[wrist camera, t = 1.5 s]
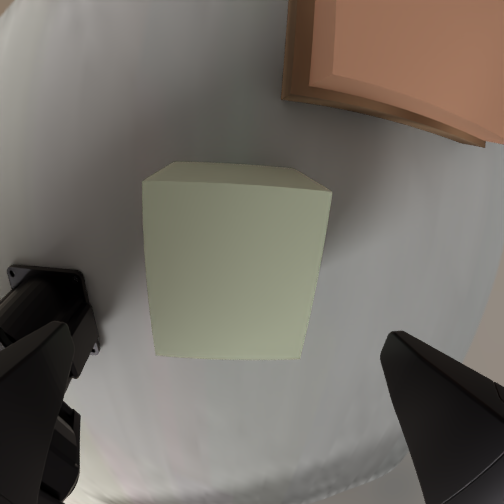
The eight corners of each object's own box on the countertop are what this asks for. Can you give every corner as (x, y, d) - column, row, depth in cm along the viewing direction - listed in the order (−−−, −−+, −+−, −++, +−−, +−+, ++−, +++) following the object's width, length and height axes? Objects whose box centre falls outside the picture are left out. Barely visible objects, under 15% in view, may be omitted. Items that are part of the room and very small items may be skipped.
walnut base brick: (278, 100, 14) (290, 94, 11) (290, -64, 9) (301, -89, 6) (454, 142, 15) (484, 147, 12) (451, -5, 10) (477, -14, 8)
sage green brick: (175, 284, 17) (155, 355, 11) (174, 161, 14) (142, 181, 9) (278, 288, 17) (299, 359, 12) (293, 168, 15) (332, 192, 9)
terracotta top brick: (308, 86, 11) (332, 74, 8) (317, -81, 7) (333, -110, 4) (483, 140, 12) (519, 148, 9) (477, -9, 8) (506, -18, 5)
